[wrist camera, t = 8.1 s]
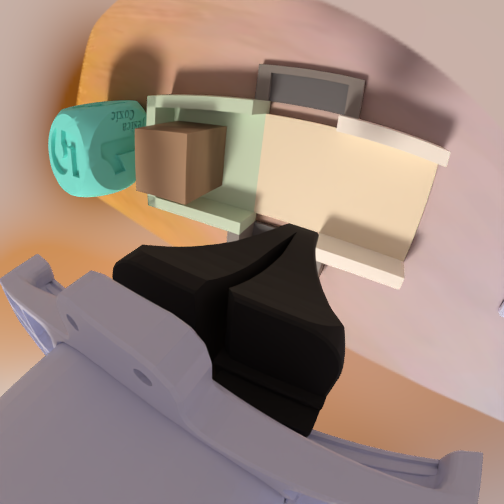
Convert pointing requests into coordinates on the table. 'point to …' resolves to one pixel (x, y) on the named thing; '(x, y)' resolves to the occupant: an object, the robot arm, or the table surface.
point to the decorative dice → (95, 147)
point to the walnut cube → (179, 159)
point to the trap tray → (311, 170)
